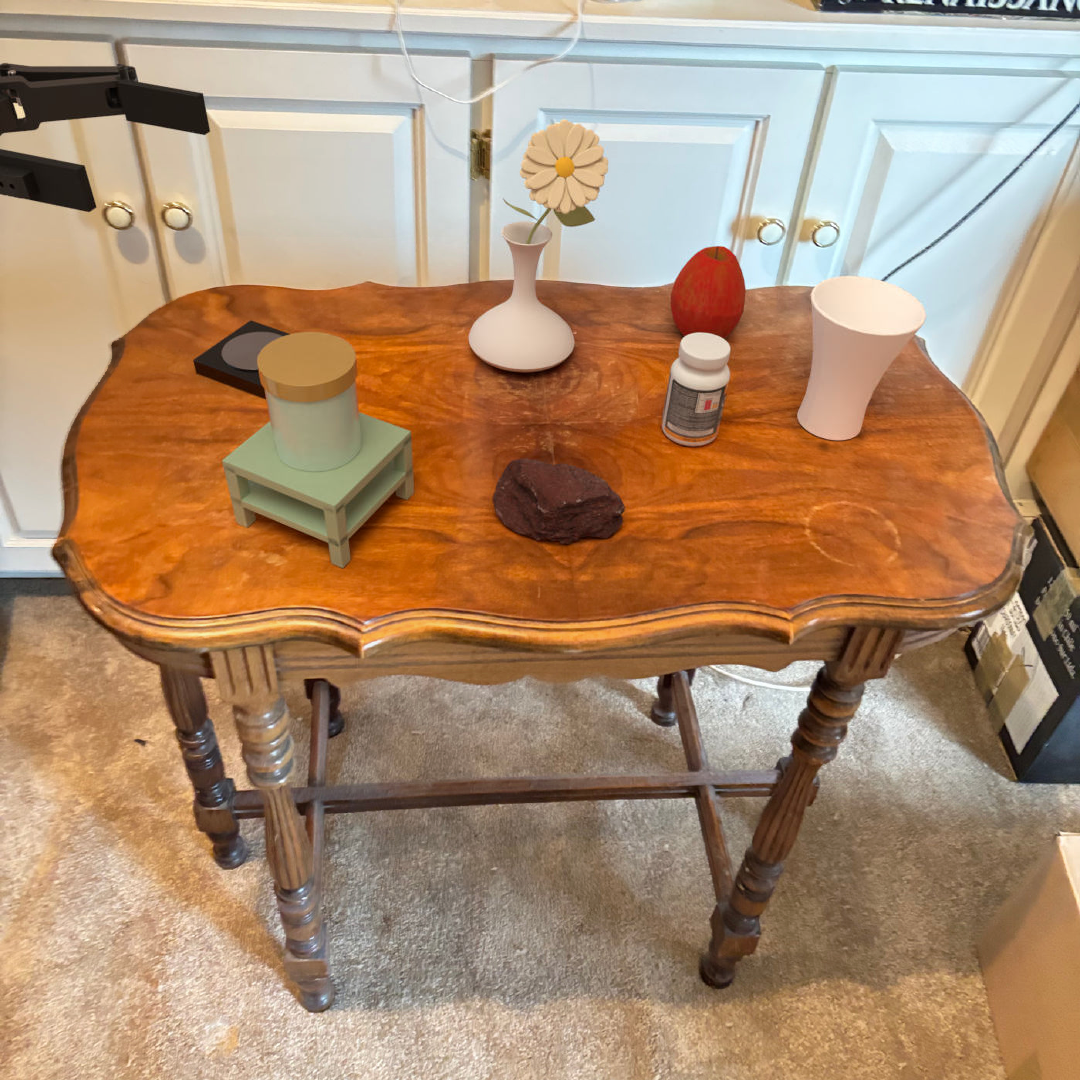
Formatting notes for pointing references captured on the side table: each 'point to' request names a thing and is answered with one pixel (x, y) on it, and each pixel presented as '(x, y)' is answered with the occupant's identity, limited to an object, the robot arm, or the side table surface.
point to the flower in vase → (562, 185)
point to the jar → (312, 400)
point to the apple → (709, 293)
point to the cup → (853, 349)
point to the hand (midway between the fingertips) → (150, 149)
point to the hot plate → (238, 357)
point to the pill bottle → (697, 390)
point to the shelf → (321, 485)
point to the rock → (556, 502)
